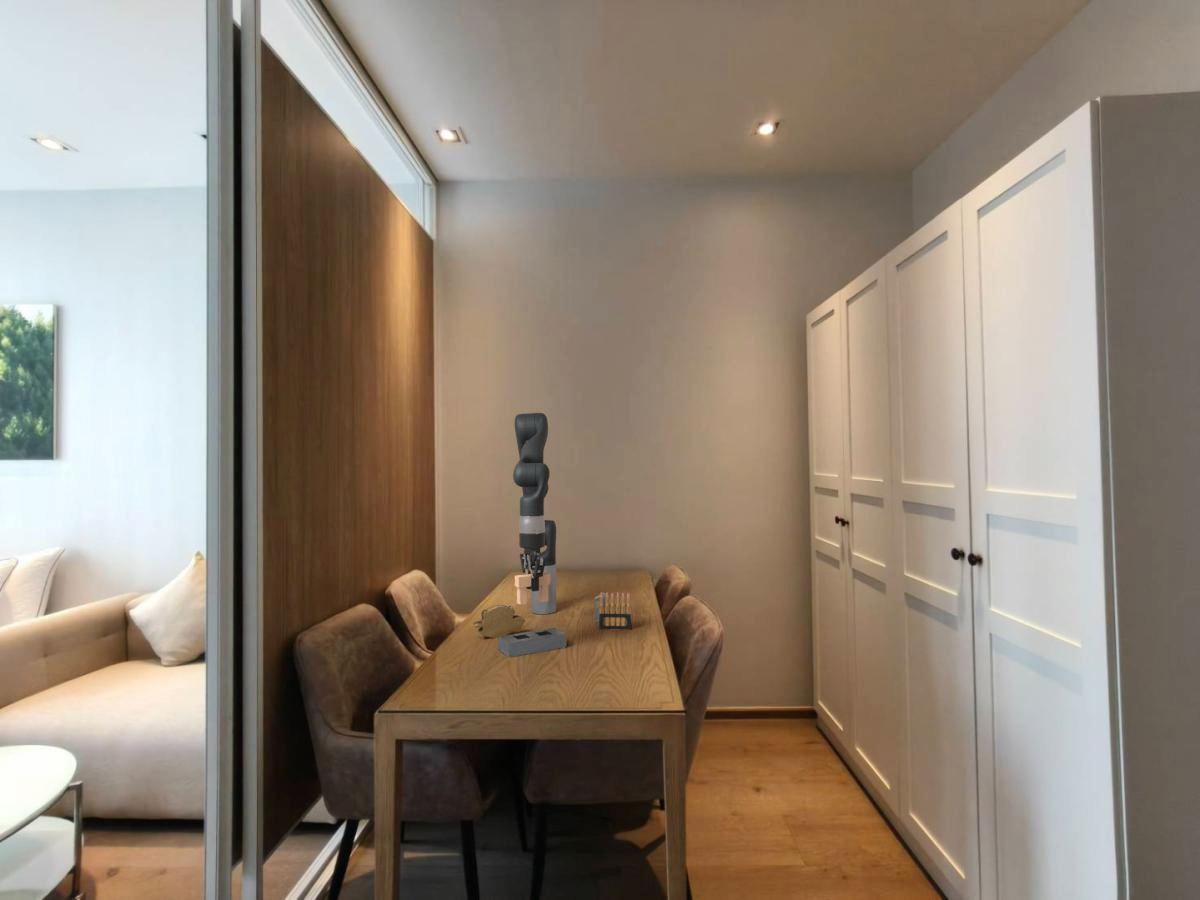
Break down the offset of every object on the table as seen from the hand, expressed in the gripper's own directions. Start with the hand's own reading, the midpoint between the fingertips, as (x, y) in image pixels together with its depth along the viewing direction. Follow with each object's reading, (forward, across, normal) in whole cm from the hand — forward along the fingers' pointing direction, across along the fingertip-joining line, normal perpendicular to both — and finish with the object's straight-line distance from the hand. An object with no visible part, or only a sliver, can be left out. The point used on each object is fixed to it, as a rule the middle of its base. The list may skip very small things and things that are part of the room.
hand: (532, 589), depth 188 cm
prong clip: (+4, 0, 0) cm, 4 cm away
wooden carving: (+18, -18, -4) cm, 25 cm away
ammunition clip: (+17, -6, +32) cm, 37 cm away
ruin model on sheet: (+18, -22, +36) cm, 46 cm away
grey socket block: (+17, 0, 0) cm, 17 cm away
